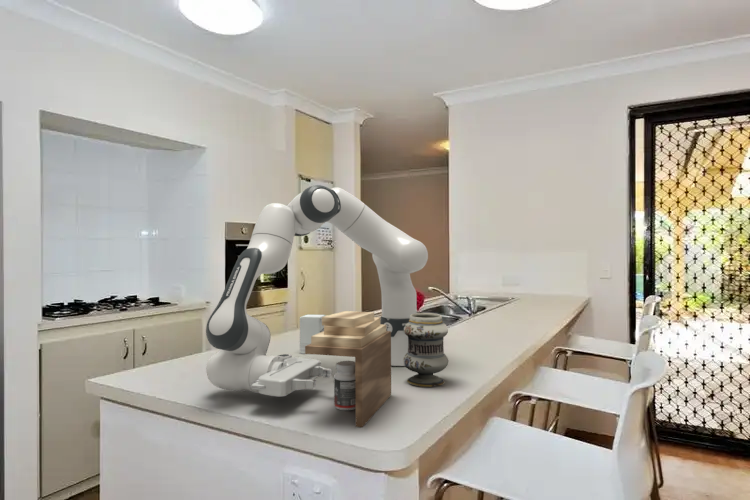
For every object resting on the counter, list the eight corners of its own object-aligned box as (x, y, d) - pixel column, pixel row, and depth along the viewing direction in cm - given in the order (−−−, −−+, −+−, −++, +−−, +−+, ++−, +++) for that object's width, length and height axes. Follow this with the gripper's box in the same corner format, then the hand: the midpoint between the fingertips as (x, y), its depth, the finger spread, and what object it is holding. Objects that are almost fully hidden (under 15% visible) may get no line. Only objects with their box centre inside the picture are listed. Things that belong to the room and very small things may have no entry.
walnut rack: (305, 421, 100) (305, 346, 100) (343, 391, 121) (343, 329, 121) (362, 427, 96) (361, 349, 96) (391, 395, 117) (390, 331, 117)
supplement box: (319, 354, 163) (319, 317, 163) (299, 353, 164) (298, 316, 164) (326, 350, 170) (326, 314, 170) (306, 349, 172) (306, 313, 172)
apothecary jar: (421, 391, 120) (421, 319, 120) (394, 380, 130) (394, 314, 130) (458, 383, 127) (457, 315, 127) (429, 373, 137) (429, 310, 137)
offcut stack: (311, 344, 101) (311, 319, 101) (343, 330, 119) (343, 308, 119) (360, 347, 98) (360, 321, 98) (386, 332, 116) (386, 309, 116)
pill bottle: (334, 403, 111) (334, 360, 111) (358, 402, 112) (358, 359, 112) (334, 411, 106) (334, 366, 106) (360, 410, 106) (359, 365, 106)
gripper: (245, 372, 105) (303, 376, 101) (289, 352, 124) (339, 355, 120) (245, 401, 105) (303, 406, 101) (289, 376, 124) (339, 380, 120)
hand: (323, 378), depth 111 cm, fingers open, 8 cm apart
